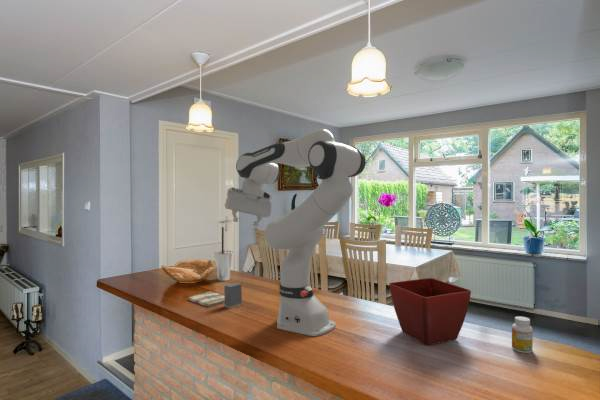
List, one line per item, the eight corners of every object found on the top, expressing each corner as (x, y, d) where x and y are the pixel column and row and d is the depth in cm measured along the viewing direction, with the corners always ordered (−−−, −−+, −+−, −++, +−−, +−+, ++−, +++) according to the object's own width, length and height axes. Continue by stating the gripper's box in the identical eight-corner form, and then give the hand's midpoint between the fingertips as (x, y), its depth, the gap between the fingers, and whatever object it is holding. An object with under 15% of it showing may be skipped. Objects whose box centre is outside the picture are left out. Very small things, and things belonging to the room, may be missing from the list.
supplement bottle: (513, 344, 113) (513, 314, 112) (533, 349, 109) (533, 317, 109) (510, 350, 108) (510, 318, 108) (531, 355, 105) (531, 323, 105)
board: (231, 300, 159) (231, 297, 159) (209, 307, 150) (209, 304, 150) (210, 293, 169) (210, 291, 169) (188, 299, 160) (188, 297, 160)
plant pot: (387, 329, 125) (387, 282, 125) (431, 322, 132) (431, 277, 131) (424, 352, 107) (424, 297, 107) (472, 342, 114) (472, 290, 113)
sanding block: (241, 304, 153) (241, 284, 153) (230, 308, 148) (230, 287, 148) (235, 302, 156) (235, 282, 155) (224, 306, 151) (224, 285, 151)
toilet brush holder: (223, 283, 189) (222, 227, 188) (209, 280, 195) (209, 226, 195) (238, 279, 197) (237, 225, 196) (224, 276, 204) (224, 224, 203)
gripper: (231, 185, 144) (225, 218, 142) (275, 196, 155) (269, 228, 152) (226, 187, 149) (219, 219, 147) (268, 198, 160) (263, 228, 157)
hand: (245, 223), depth 149 cm, fingers open, 8 cm apart
